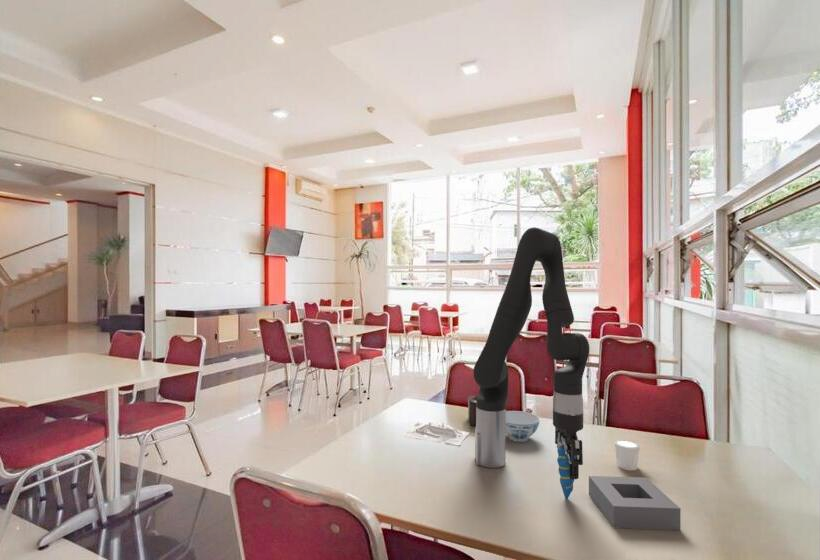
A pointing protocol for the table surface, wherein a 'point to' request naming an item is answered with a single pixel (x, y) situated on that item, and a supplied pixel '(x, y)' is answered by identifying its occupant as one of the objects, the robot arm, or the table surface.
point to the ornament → (564, 472)
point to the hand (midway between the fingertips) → (568, 470)
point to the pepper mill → (472, 410)
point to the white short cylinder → (627, 454)
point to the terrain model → (437, 433)
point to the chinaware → (521, 425)
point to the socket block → (634, 503)
